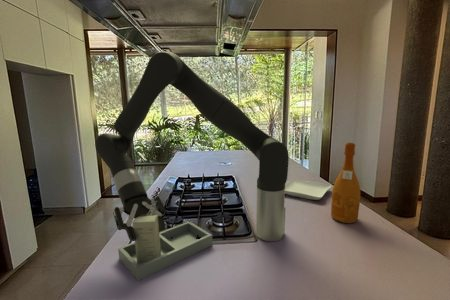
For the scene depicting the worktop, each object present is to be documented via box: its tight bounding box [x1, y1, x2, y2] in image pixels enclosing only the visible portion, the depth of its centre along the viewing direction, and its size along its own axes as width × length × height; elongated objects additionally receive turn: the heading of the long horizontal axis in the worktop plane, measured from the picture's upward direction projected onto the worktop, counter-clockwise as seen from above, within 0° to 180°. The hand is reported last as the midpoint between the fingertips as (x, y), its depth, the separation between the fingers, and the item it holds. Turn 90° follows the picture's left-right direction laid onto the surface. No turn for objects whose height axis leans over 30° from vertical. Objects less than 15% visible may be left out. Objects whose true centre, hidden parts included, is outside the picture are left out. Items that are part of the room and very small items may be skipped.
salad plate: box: [285, 178, 333, 201], centre depth 131 cm, size 21×21×3 cm
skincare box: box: [132, 215, 161, 261], centre depth 75 cm, size 6×4×12 cm
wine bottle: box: [330, 142, 361, 224], centre depth 99 cm, size 10×10×30 cm
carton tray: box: [117, 221, 213, 281], centre depth 80 cm, size 25×13×4 cm, turn 132°
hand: (149, 234), depth 75 cm, fingers open, 8 cm apart
